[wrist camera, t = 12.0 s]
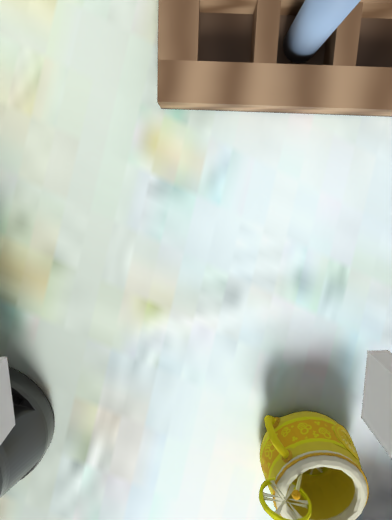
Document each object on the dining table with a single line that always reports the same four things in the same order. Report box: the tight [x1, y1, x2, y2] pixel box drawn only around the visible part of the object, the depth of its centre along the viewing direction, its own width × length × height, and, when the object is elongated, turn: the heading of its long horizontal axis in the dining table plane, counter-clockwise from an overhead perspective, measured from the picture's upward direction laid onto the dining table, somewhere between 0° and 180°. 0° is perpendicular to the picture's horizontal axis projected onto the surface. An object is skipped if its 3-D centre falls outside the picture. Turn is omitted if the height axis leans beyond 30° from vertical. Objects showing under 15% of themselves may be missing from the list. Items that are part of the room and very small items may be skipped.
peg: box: [283, 0, 361, 63], centre depth 29 cm, size 3×3×12 cm
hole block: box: [157, 0, 392, 117], centre depth 34 cm, size 26×12×3 cm, turn 88°
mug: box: [259, 411, 369, 520], centre depth 39 cm, size 13×11×12 cm
